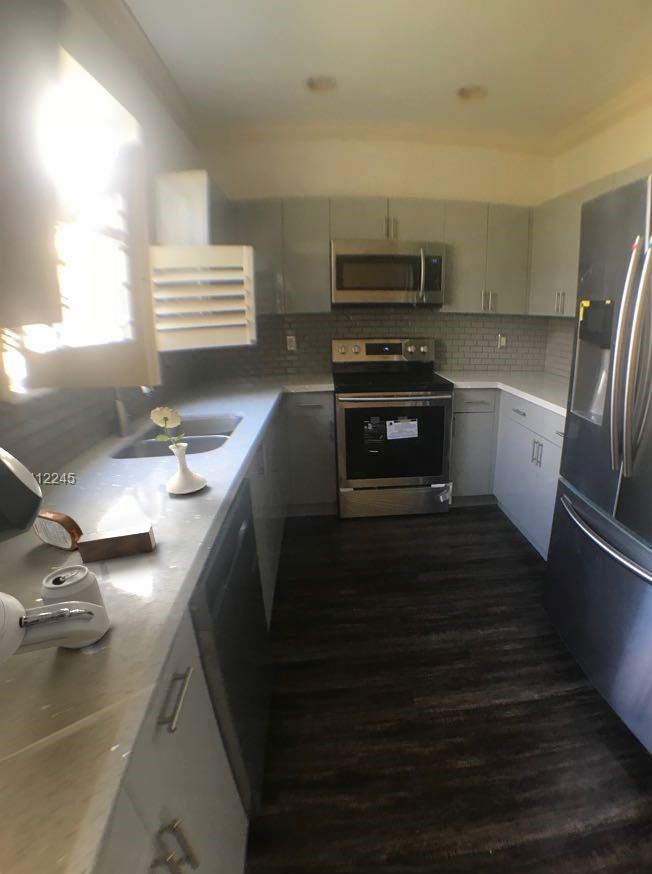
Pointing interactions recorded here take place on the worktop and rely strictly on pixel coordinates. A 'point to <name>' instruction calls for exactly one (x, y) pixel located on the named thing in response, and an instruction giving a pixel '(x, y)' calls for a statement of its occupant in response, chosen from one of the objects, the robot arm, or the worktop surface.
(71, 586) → the can
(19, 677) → the worktop surface
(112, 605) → the worktop surface
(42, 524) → the tin
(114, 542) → the brown rectangular block
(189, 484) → the flower in vase
